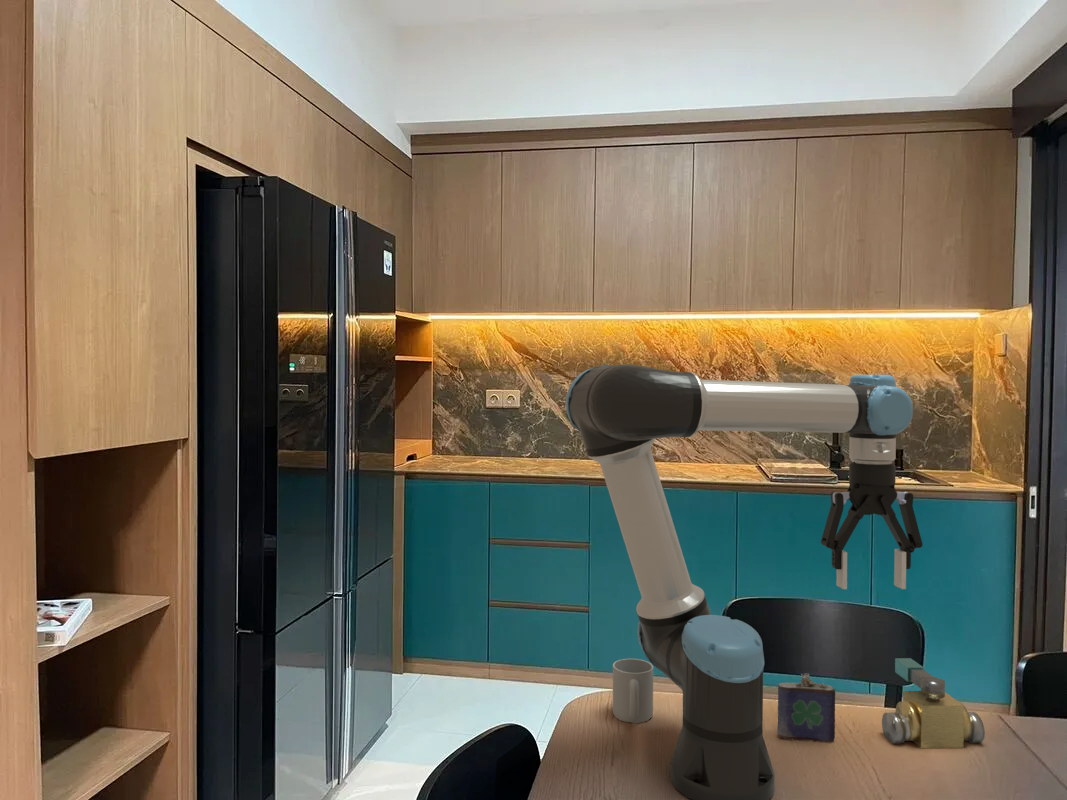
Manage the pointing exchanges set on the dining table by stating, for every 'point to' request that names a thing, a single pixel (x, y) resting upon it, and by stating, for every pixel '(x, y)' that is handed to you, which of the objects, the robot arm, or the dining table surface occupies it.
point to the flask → (806, 711)
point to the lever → (920, 677)
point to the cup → (633, 690)
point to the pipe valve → (932, 722)
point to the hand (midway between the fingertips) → (870, 587)
